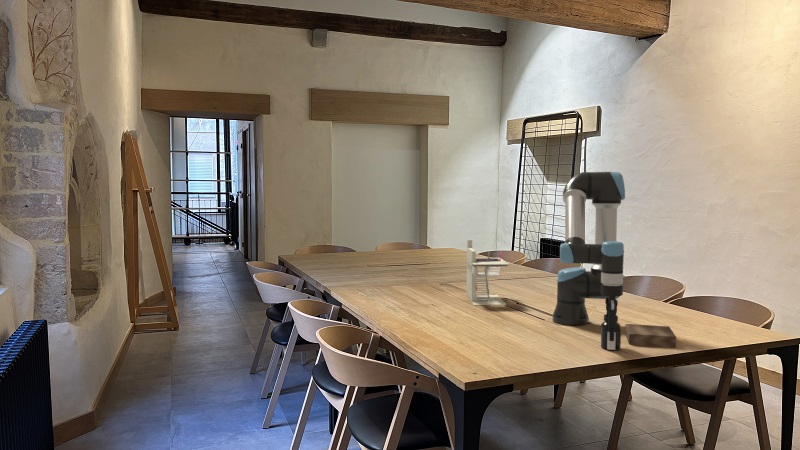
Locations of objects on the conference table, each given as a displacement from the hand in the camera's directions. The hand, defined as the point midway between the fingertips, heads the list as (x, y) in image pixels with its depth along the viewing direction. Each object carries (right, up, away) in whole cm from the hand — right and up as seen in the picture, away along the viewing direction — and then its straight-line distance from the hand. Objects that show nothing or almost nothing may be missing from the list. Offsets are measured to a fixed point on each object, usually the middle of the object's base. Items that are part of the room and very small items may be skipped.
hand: (610, 346), depth 215 cm
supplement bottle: (0, -1, 0) cm, 1 cm away
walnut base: (+19, 0, +10) cm, 21 cm away
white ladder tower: (-32, +5, +89) cm, 95 cm away
